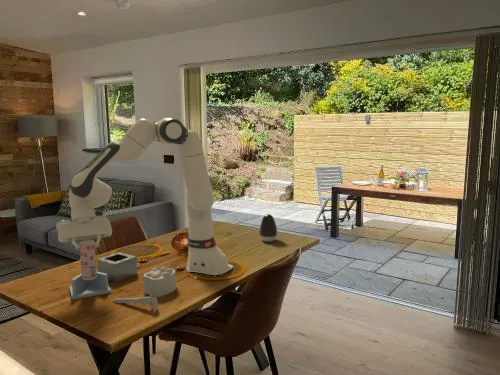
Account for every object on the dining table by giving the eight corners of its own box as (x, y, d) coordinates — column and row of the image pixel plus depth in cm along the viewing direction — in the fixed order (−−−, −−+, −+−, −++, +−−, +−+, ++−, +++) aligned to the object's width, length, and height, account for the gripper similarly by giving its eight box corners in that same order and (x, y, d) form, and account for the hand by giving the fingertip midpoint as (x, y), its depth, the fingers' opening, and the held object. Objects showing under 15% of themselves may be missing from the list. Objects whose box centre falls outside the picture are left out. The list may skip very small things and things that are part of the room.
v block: (69, 289, 176) (68, 272, 175) (106, 282, 182) (105, 266, 181) (72, 299, 166) (70, 282, 165) (110, 292, 172) (109, 275, 171)
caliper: (158, 310, 157) (157, 294, 156) (156, 311, 156) (155, 295, 155) (114, 301, 165) (113, 285, 164) (112, 302, 164) (111, 286, 163)
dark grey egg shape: (255, 241, 241) (255, 214, 239) (265, 237, 250) (265, 211, 247) (270, 244, 235) (270, 217, 233) (280, 239, 244) (280, 213, 241)
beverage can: (83, 275, 173) (81, 239, 171) (98, 274, 174) (96, 239, 171) (79, 280, 168) (77, 243, 165) (94, 280, 168) (92, 243, 166)
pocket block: (137, 273, 193) (136, 256, 191) (115, 282, 183) (114, 264, 182) (119, 268, 199) (118, 252, 198) (97, 276, 190) (96, 259, 188)
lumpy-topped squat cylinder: (140, 291, 173) (139, 271, 172) (166, 282, 183) (165, 262, 182) (156, 298, 167) (155, 277, 165) (182, 288, 176) (181, 268, 175)
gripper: (55, 216, 168) (58, 247, 161) (109, 211, 177) (114, 240, 170) (55, 225, 173) (58, 255, 166) (108, 219, 182) (113, 248, 175)
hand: (87, 247), depth 168 cm, fingers closed on beverage can, 6 cm apart
